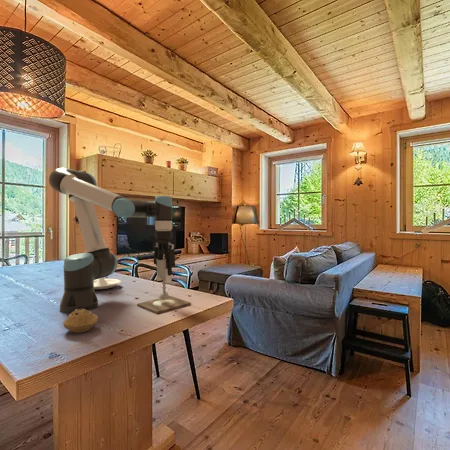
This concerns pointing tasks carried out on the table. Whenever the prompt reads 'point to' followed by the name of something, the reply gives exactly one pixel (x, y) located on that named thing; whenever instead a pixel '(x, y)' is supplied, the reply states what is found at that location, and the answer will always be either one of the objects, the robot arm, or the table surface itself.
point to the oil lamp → (80, 321)
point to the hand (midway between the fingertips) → (164, 281)
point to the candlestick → (105, 282)
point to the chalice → (162, 277)
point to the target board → (163, 305)
